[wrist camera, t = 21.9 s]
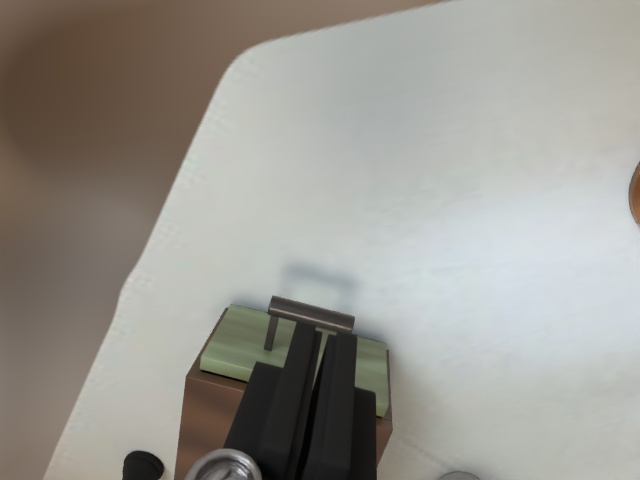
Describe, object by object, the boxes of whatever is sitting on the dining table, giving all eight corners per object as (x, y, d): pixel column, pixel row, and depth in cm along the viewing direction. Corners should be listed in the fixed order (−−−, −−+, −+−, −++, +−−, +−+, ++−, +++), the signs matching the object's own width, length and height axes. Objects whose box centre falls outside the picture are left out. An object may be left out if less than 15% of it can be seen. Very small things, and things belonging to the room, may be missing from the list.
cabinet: (225, 307, 37) (185, 376, 29) (388, 349, 36) (392, 430, 29) (207, 424, 43) (170, 507, 35) (347, 461, 42) (341, 553, 35)
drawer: (238, 257, 33) (207, 303, 27) (402, 299, 33) (409, 355, 27) (212, 417, 41) (184, 481, 35) (346, 452, 41) (341, 523, 35)
